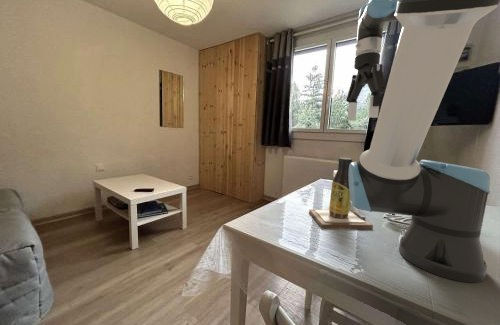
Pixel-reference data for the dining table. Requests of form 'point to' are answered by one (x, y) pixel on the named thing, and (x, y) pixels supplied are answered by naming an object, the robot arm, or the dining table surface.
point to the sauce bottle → (340, 190)
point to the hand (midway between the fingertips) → (361, 118)
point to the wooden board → (340, 220)
